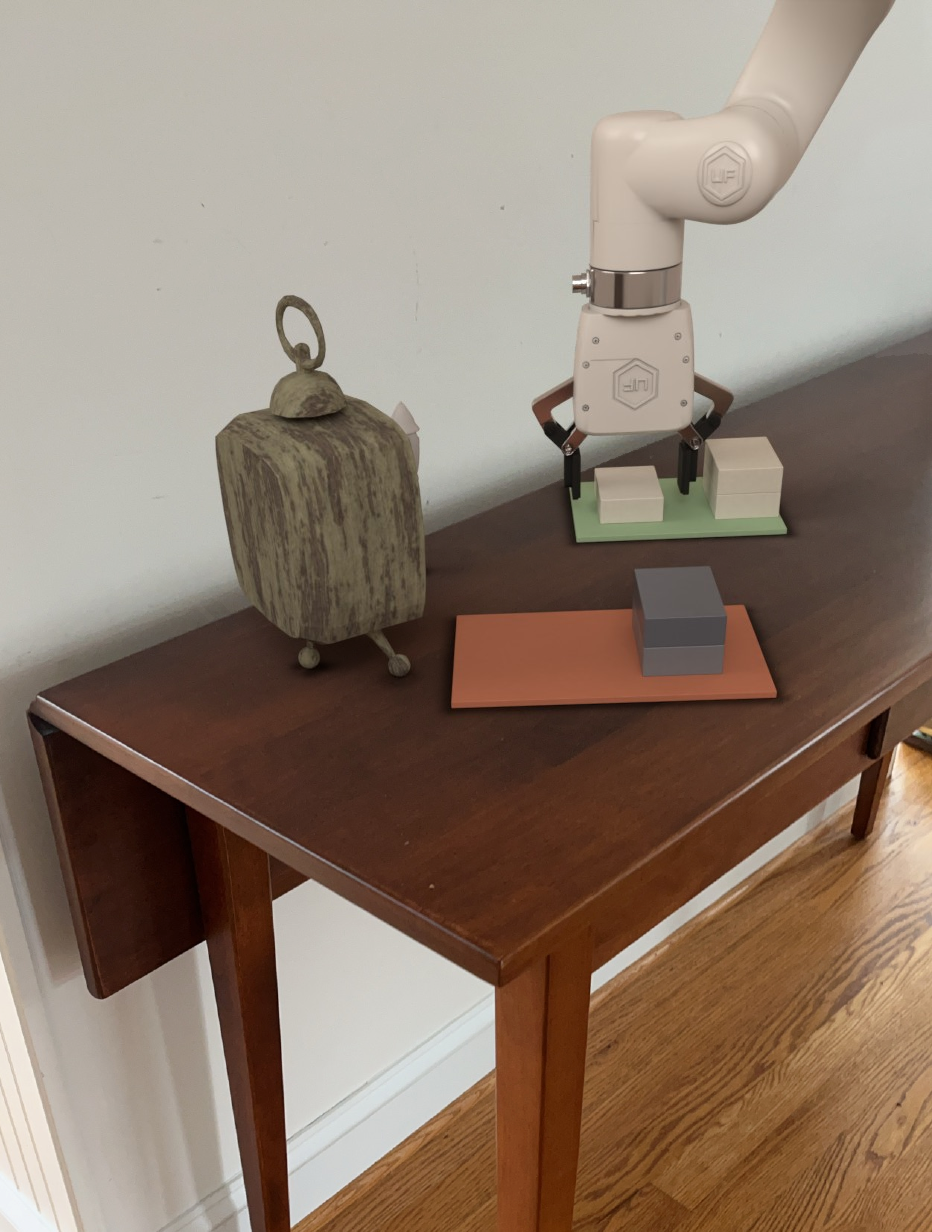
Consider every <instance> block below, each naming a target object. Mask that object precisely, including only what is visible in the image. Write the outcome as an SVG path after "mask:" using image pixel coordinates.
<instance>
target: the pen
mask: <svg viewBox="0 0 932 1232" xmlns="http://www.w3.org/2000/svg"><path fill="white" fill-rule="evenodd" d="M390 417H391V418H392V419H393V420H394V421H395V422H396V423H397V424H398V425H399V426H400V427H401V428H402V429H403V431H404V432H405V433H406V435H407V436H408V437H409V439H410V442H411V446H412V450H413V454H414V458H415V462H416V468H417V474H418V473H419V468H420V453H421V452H420V450H421V449H420V437H419V435H418V434H417V433H418V432H419V431H420V427H419V426H418V424H417V423H416V421H415V419H414V416H413V415H412V413H411V412H410V411H409V409H408V407H407V406H406V405H405V404H404V402H403V401H401V400H400V401H399V402H398V403H397V405H396V406H395V409H394V411H393V412H392V415H391V416H390ZM419 480H420V477H419V476H418V481H419ZM419 482H420V481H419Z"/></svg>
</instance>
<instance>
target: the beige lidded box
mask: <svg viewBox="0 0 932 1232" xmlns="http://www.w3.org/2000/svg"><path fill="white" fill-rule="evenodd" d="M704 444H705V445H704V457H703V471H702V472H703V474H702V477H703V485H702V486H703V489H704V492H705V494H706V497H707V499H708V502H709V505H710V507H711V510H712V512H713V515H714V518H715V519H716V520H717V519H741V518H765V517H778V516H779V514H780V506H781V505H780V504H781V497H782V488H783V487H782V485H783V476H784V466H783V464H782V462H781V460H780V459H779V457H778V454H777V453H776V451H775V449H774V448H773V446H772V443H771V442H770V441H769V439H768V437H767V436H749V437H748V436H747V437H730V438H729V437H728V438H727V437H726V438H707V439H706V440H705V441H704Z"/></svg>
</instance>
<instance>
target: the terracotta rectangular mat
mask: <svg viewBox="0 0 932 1232" xmlns="http://www.w3.org/2000/svg"><path fill="white" fill-rule="evenodd" d="M724 608H725V611H726V614H727V625H726V637H725V644H724V645H725V649H724V661H723V672H722V674H703V675H673V676H644V677H643V676H642V671H641V666H640V661H639V656H638V651H637V646H636V641H635V636H634V631H633V626H632V612H633V608H621V609H596V610H595V609H594V610H593V609H592V610H568V611H567V610H566V611H564V610H563V611H541V612H539V611H538V612H514V613H513V612H512V613H487V614H486V613H485V614H483V613H482V614H461V615H460V614H459V615H456V622H455V638H454V652H453V667H452V668H453V669H452V686H451V698H450V699H451V701H450V705H451V709H467V708H469V709H470V708H471V709H472V708H500V707H501V708H502V707H503V708H505V707H532V706H534V707H535V706H536V707H537V706H561V705H563V706H564V705H593V704H623V703H628V704H629V703H657V702H659V703H660V702H687V701H688V702H689V701H716V700H717V701H718V700H722V701H723V700H743V699H744V700H747V699H749V700H752V699H753V700H754V699H776V698H777V694H778V691H777V688H776V685H775V682H774V681H773V678H772V674H771V672H770V669H769V667H768V665H767V662H766V659H765V657H764V654H763V651H762V649H761V646H760V644H759V641H758V638H757V635H756V633H755V630H754V628H753V624H752V622H751V620H750V617H749V614H748V611H747V608H746V605H745V604H730V605H729V604H728V605H724Z"/></svg>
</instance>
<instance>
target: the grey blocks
mask: <svg viewBox="0 0 932 1232" xmlns="http://www.w3.org/2000/svg"><path fill="white" fill-rule="evenodd" d="M632 587H633V589H632V590H633V591H632V609H633V612H632V626H633V631H634V636H635V641H636V646H637V651H638V656H639V661H640V666H641V671H642V676H643V677H644V676H673V675H703V674H722V672H723V661H724V649H725V645H724V644H725V637H726V625H727V614H726V611H725V608H724V606H725V604H724V603H723V600H722V597H721V594H720V590H719V588H718V585H717V582H716V580H715V577H714V573H713V571H712V568H711V566H710V565H699V566H678V567H677V566H674V567H673V566H671V567H650V568H649V567H648V568H634V569H633V586H632Z"/></svg>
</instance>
